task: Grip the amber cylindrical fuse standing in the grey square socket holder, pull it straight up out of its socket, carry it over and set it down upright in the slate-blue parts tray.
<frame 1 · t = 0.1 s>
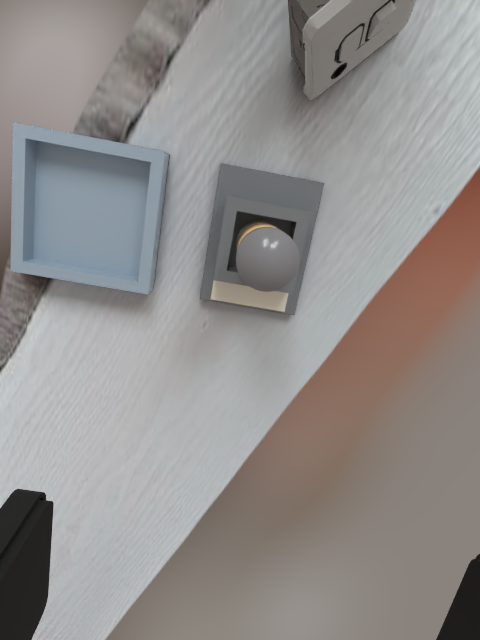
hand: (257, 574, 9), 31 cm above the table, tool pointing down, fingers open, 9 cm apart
electrical switch: (334, 39, 33), on the table
tray: (94, 212, 37), on the table
grey square socket holder: (258, 242, 37), on the table
fuse: (259, 243, 37), point 1 cm above the table, touching grey square socket holder
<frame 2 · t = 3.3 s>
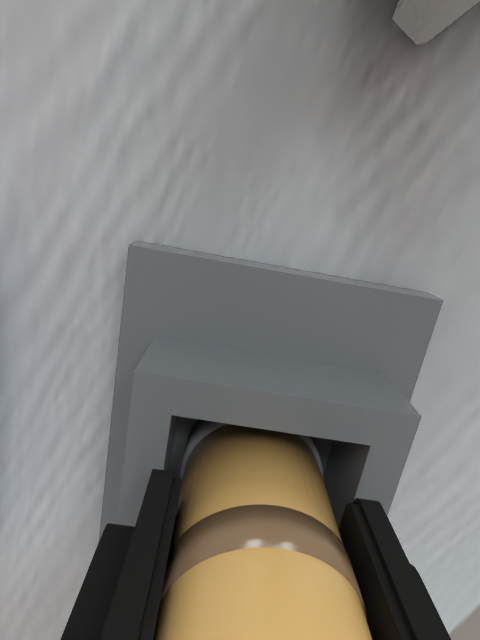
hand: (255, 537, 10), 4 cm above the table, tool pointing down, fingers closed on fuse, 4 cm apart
grey square socket holder: (249, 437, 14), on the table
fuse: (250, 455, 13), point 1 cm above the table, touching grey square socket holder, gripper
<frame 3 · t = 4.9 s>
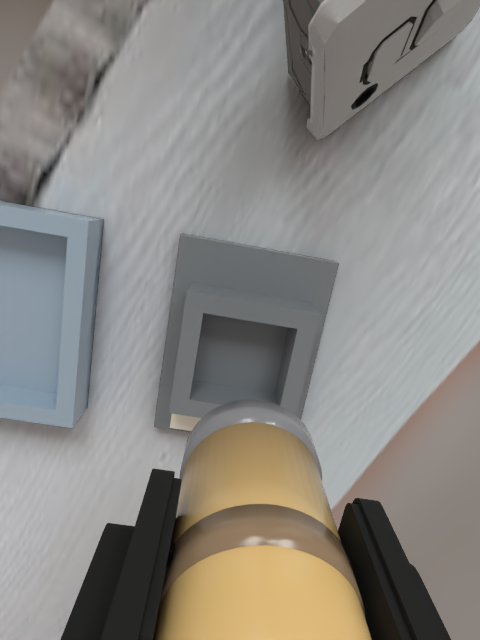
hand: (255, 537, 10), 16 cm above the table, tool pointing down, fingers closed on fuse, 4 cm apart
electrical switch: (355, 47, 21), on the table
grey square socket holder: (241, 343, 25), on the table
fuse: (249, 458, 13), point 12 cm above the table, touching gripper
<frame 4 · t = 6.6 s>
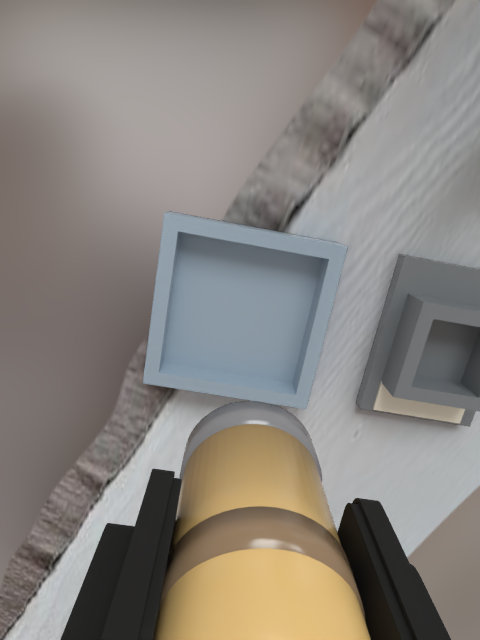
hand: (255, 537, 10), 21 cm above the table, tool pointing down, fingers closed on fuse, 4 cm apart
tray: (240, 308, 30), on the table
grey square socket holder: (433, 342, 31), on the table
fuse: (249, 459, 13), point 18 cm above the table, touching gripper
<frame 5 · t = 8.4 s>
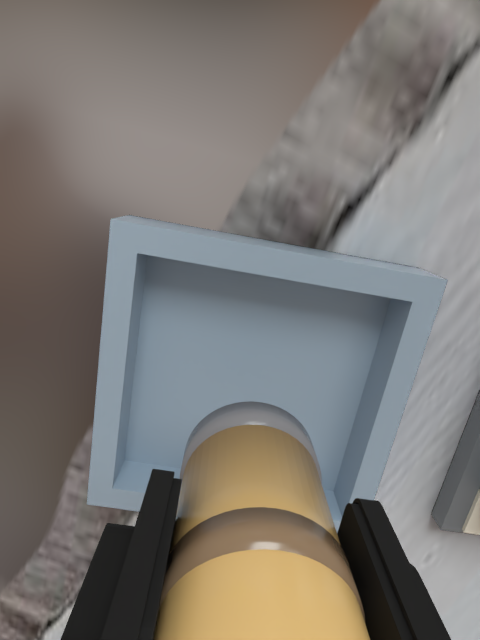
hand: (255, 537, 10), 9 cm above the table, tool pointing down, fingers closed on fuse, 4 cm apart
tray: (249, 374, 18), on the table
fuse: (249, 460, 13), point 6 cm above the table, touching gripper
when the fingers open (5 cm above the table, at t = 9.8 s): fuse stays where it is, resting on tray.
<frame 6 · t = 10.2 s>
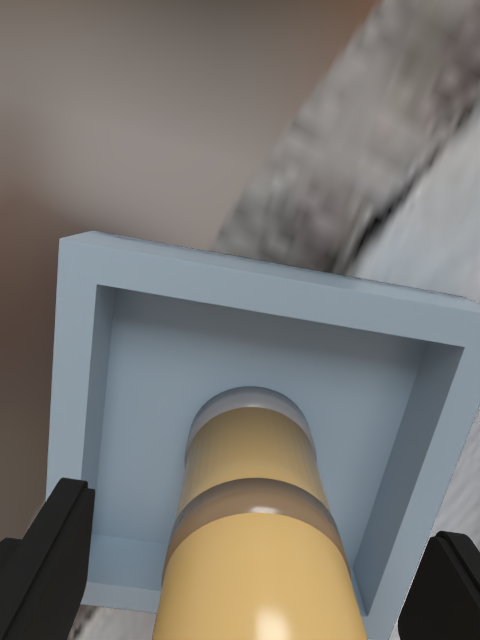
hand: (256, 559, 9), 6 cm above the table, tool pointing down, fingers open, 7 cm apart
tray: (248, 428, 15), on the table
fuse: (249, 441, 14), point 1 cm above the table, touching tray
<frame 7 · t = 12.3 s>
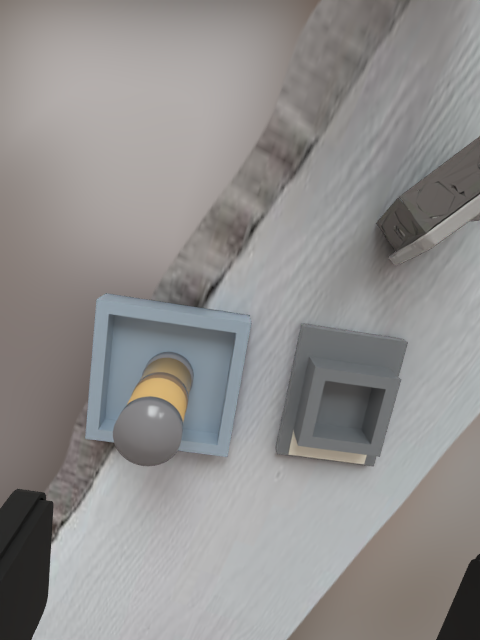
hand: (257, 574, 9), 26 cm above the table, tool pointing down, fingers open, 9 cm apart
electrical switch: (418, 206, 33), on the table
tray: (169, 371, 35), on the table
grey square socket holder: (337, 394, 36), on the table
fuse: (169, 375, 35), point 1 cm above the table, touching tray
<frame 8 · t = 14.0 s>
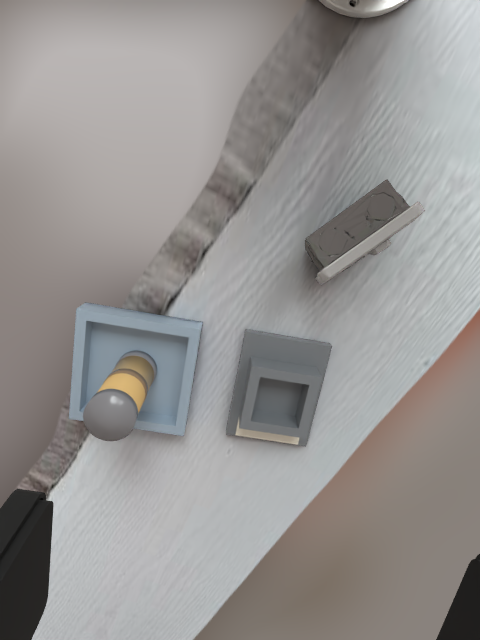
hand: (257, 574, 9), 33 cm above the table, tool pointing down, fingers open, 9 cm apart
electrical switch: (341, 235, 40), on the table
tray: (138, 365, 43), on the table
grey square socket holder: (276, 387, 44), on the table
fuse: (137, 369, 43), point 1 cm above the table, touching tray
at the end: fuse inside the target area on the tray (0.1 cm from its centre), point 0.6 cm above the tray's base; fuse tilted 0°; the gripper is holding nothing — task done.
